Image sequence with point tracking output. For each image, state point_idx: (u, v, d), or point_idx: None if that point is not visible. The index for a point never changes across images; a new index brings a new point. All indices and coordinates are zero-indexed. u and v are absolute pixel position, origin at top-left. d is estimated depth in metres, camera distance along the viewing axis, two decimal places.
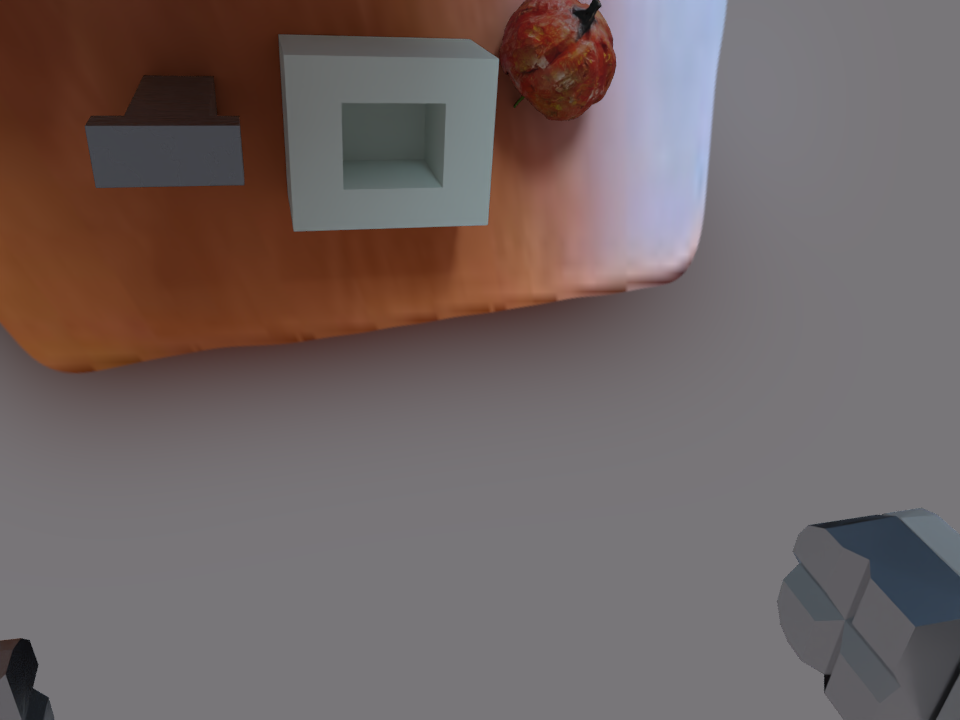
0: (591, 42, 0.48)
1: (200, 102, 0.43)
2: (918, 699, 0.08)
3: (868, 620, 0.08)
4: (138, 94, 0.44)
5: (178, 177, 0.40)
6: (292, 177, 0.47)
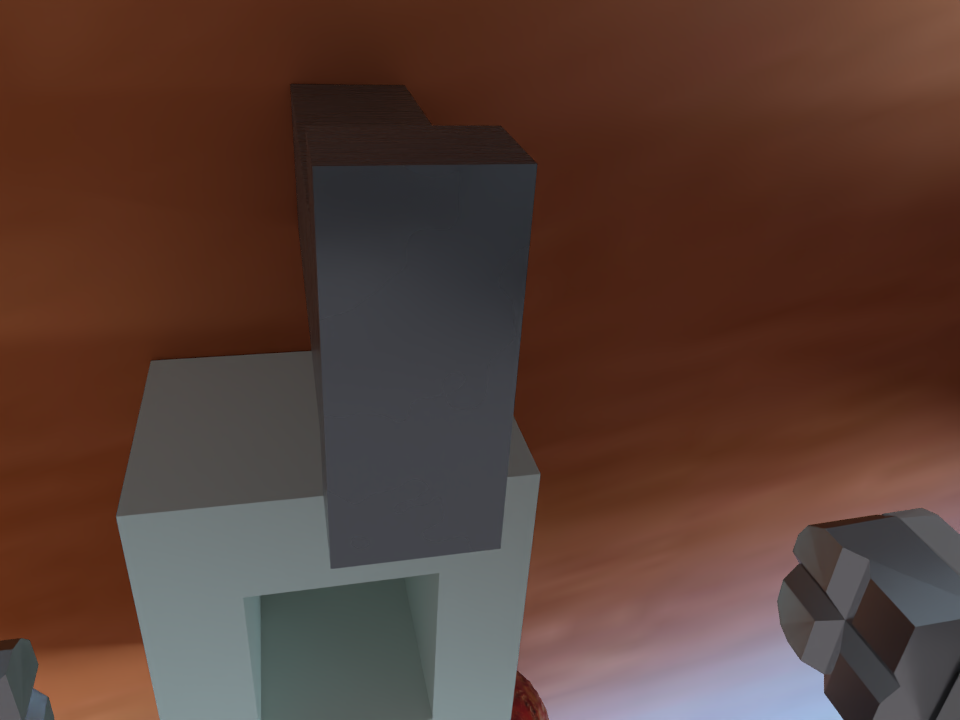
0: None
1: None
2: (918, 699, 0.08)
3: (868, 620, 0.08)
4: None
5: (353, 416, 0.12)
6: (266, 504, 0.19)
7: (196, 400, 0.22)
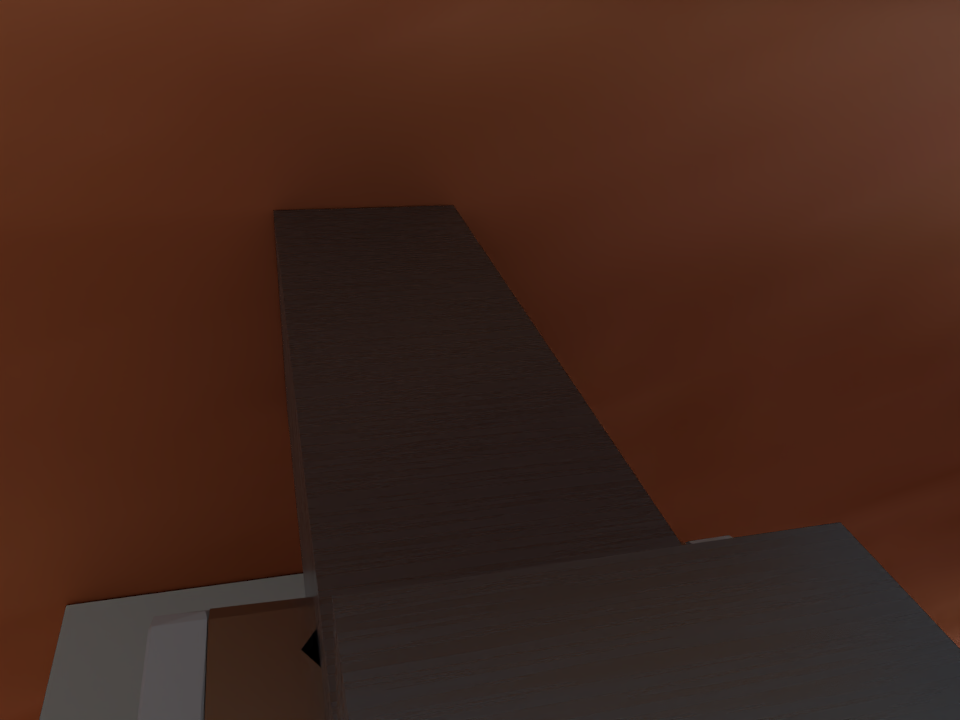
0: None
1: None
2: None
3: None
4: None
5: None
6: None
7: (131, 693, 0.14)
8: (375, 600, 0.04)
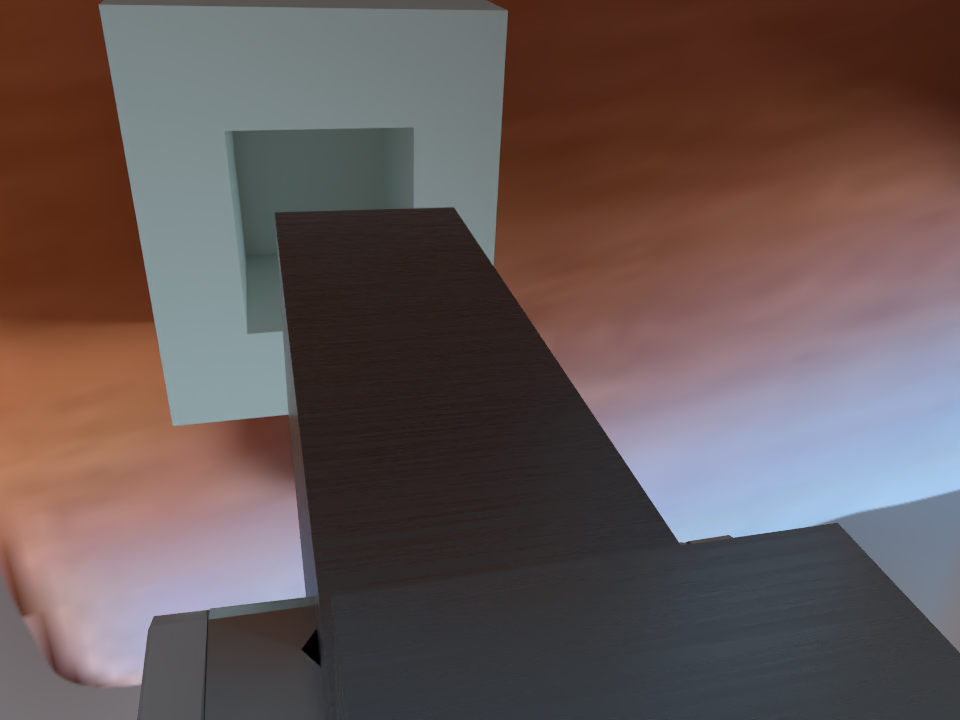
0: None
1: None
2: None
3: None
4: None
5: None
6: (244, 11, 0.20)
7: None
8: (375, 600, 0.04)
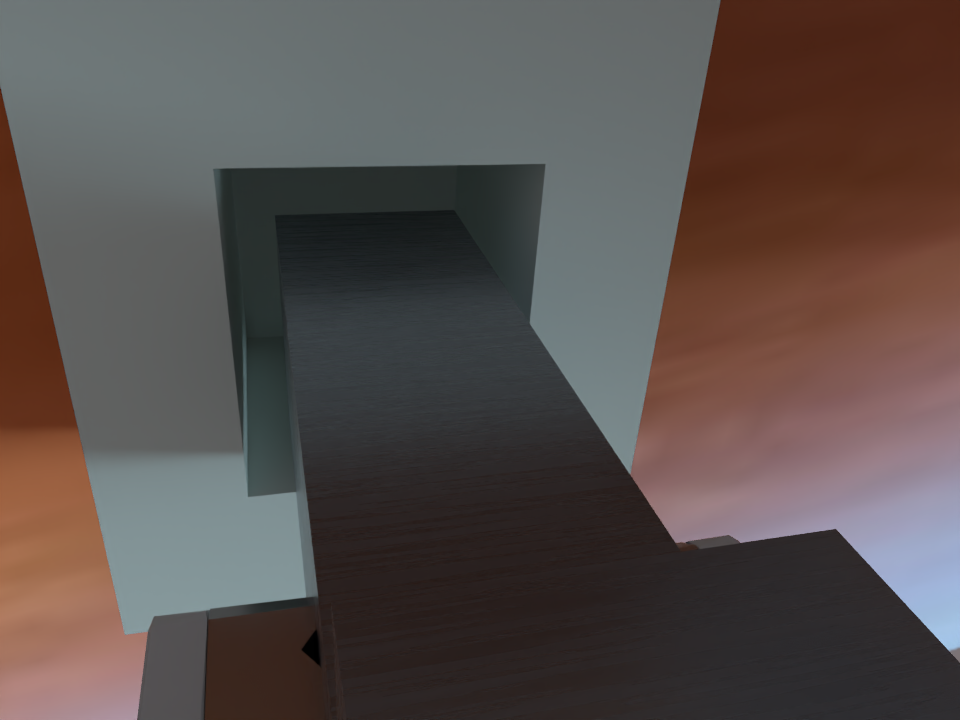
0: None
1: None
2: None
3: None
4: None
5: None
6: None
7: None
8: (374, 607, 0.04)
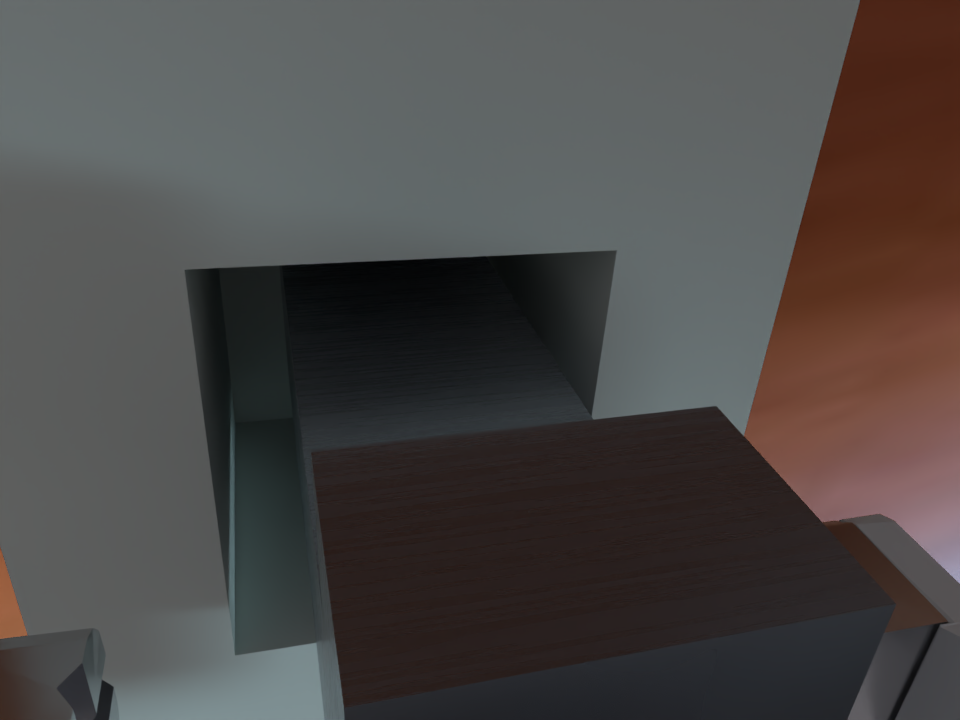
0: None
1: None
2: (871, 709, 0.08)
3: None
4: None
5: None
6: None
7: None
8: (343, 453, 0.05)
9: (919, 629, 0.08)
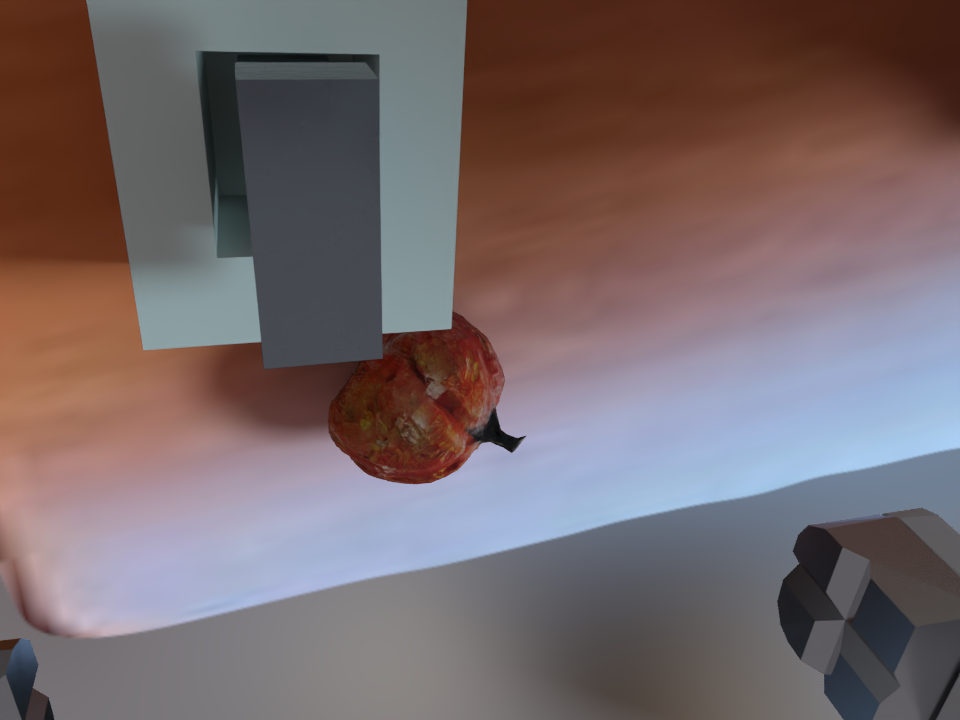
0: (463, 450, 0.32)
1: None
2: (918, 699, 0.08)
3: (868, 621, 0.08)
4: None
5: (272, 252, 0.19)
6: None
7: None
8: (244, 62, 0.19)
9: None
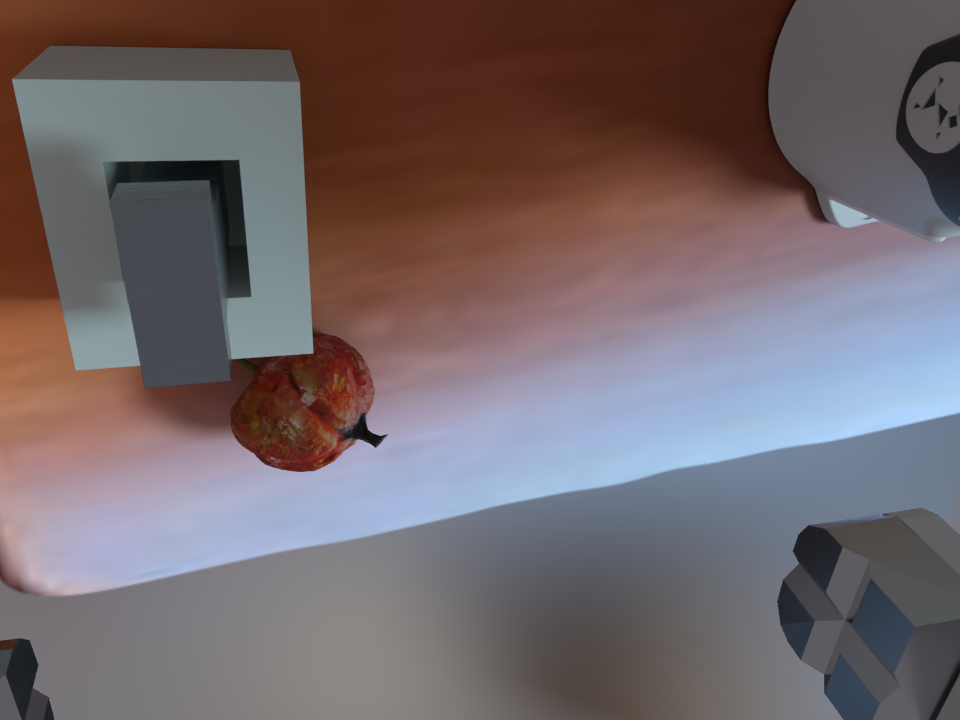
0: (335, 445, 0.41)
1: (226, 277, 0.33)
2: (919, 699, 0.08)
3: (868, 621, 0.08)
4: (217, 184, 0.33)
5: (144, 310, 0.28)
6: (112, 82, 0.30)
7: (77, 56, 0.33)
8: (123, 183, 0.28)
9: None
